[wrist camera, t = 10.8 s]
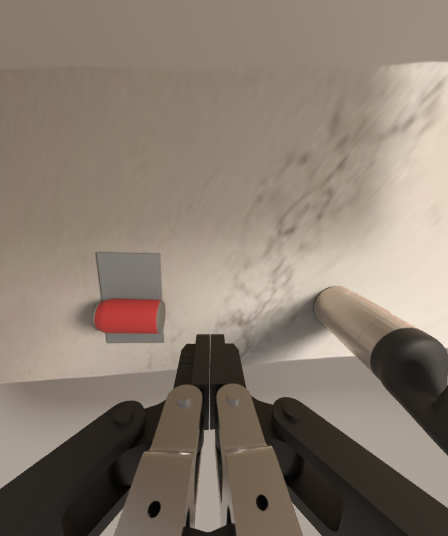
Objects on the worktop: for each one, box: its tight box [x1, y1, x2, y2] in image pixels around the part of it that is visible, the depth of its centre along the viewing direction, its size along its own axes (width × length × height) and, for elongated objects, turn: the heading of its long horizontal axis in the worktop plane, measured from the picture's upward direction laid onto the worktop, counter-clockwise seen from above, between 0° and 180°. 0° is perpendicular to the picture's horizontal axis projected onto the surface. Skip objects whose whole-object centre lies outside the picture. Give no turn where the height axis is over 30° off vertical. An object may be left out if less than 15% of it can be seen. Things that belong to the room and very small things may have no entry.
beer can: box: [92, 299, 165, 334], centre depth 41 cm, size 7×7×12 cm
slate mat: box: [97, 252, 164, 343], centre depth 44 cm, size 12×20×1 cm, turn 178°
